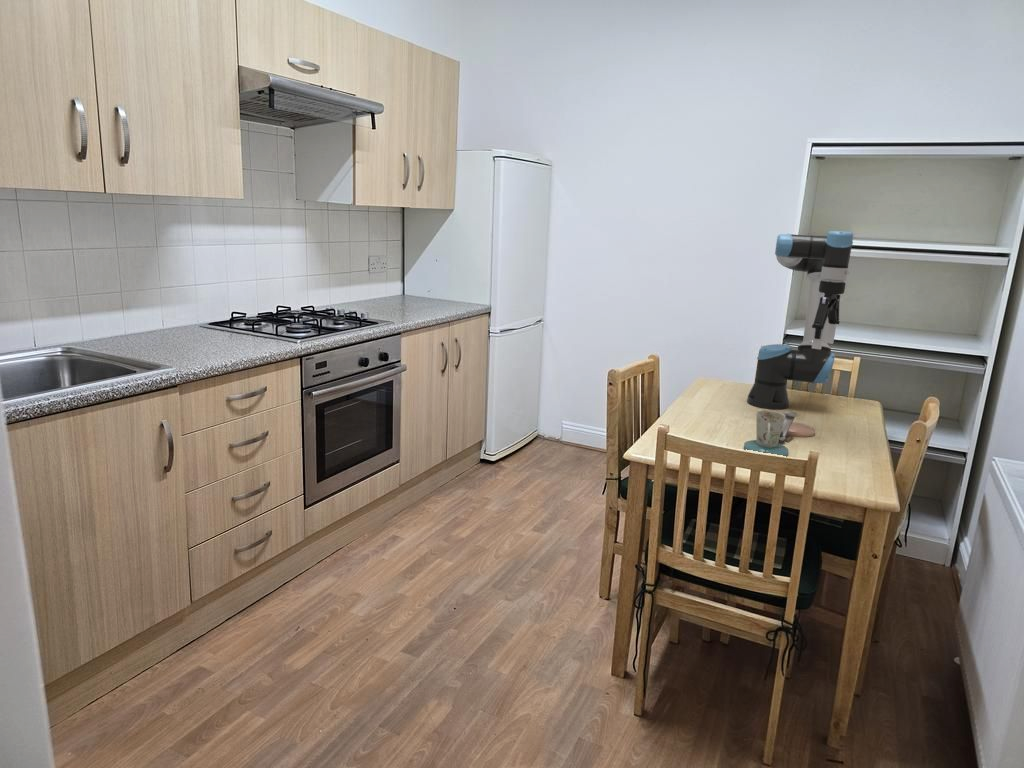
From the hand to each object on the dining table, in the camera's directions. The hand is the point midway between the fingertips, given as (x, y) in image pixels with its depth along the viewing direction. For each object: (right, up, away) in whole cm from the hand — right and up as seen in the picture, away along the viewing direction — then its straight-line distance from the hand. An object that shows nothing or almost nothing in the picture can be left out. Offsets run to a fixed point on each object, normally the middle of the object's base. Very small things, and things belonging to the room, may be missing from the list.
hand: (822, 346), depth 226 cm
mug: (-22, -32, -11) cm, 41 cm away
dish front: (-22, -33, -11) cm, 41 cm away
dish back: (-5, -29, +11) cm, 31 cm away
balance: (-12, -31, +2) cm, 33 cm away
